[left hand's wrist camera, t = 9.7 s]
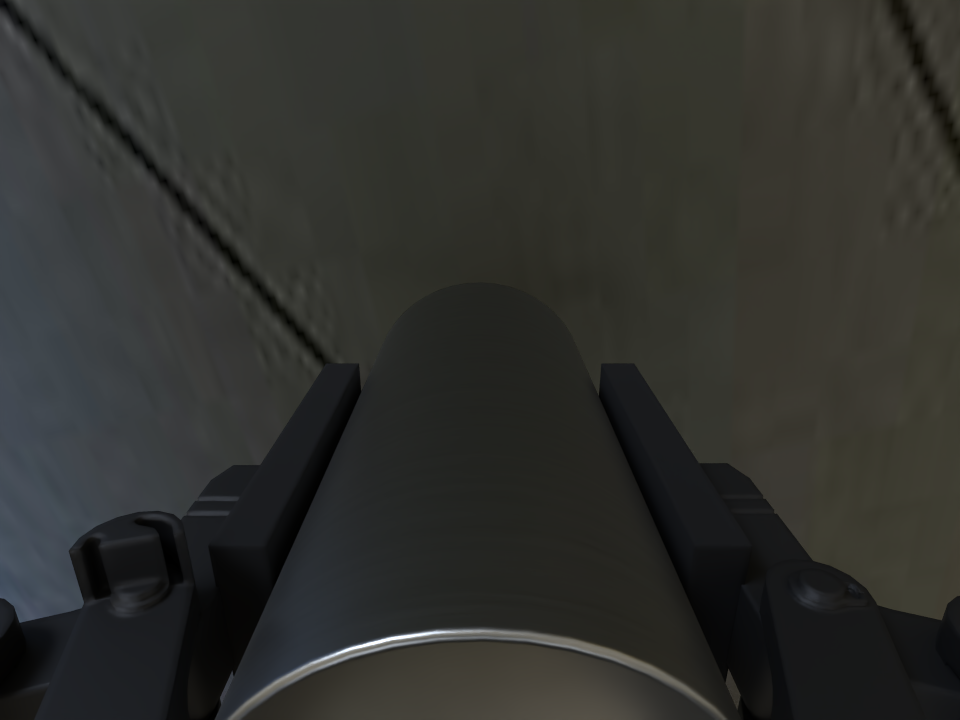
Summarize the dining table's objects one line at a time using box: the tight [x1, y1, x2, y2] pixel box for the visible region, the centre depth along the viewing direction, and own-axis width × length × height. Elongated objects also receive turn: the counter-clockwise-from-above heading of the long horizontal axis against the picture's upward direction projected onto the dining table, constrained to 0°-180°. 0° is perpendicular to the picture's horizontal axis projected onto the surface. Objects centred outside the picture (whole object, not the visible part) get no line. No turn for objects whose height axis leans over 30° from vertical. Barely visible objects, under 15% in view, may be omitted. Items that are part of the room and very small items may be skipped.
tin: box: [215, 283, 741, 720], centre depth 11 cm, size 6×6×12 cm
